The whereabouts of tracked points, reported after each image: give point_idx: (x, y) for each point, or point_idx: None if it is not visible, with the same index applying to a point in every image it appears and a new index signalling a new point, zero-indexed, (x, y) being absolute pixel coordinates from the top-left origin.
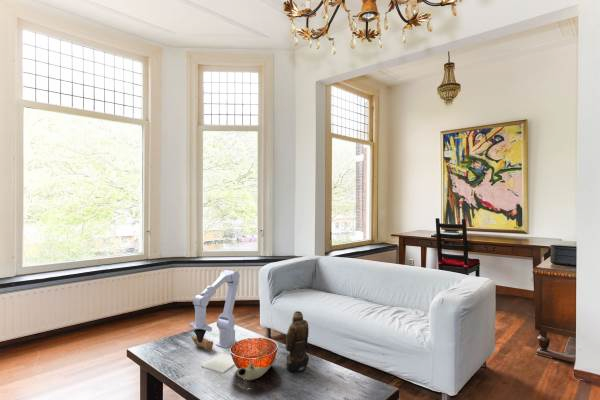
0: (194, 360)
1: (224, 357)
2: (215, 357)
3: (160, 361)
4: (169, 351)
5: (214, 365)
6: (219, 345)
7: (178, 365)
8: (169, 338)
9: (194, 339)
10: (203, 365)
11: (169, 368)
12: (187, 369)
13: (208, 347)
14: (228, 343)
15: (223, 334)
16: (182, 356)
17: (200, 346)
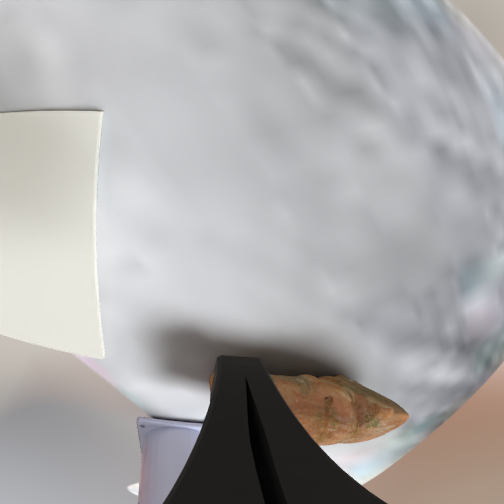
0: (250, 195)
1: (39, 314)
2: (91, 295)
3: (493, 114)
4: (488, 261)
5: (10, 173)
6: (198, 427)
7: (346, 64)
8: (497, 363)
9: (380, 407)
10: (87, 126)
11: (386, 8)
12: (211, 18)
13: None
14: (144, 446)
15: (165, 497)
16: (394, 227)
17: (307, 377)
